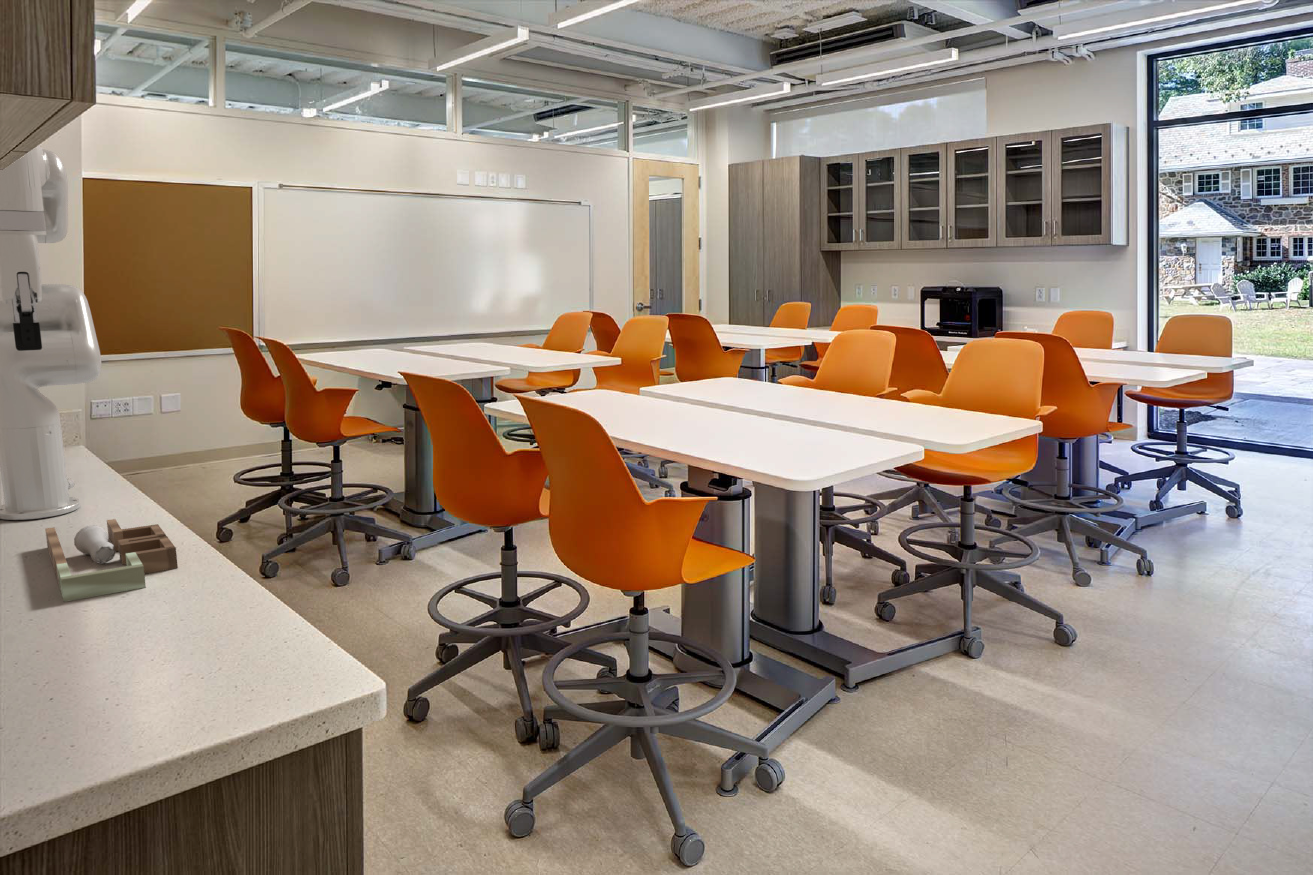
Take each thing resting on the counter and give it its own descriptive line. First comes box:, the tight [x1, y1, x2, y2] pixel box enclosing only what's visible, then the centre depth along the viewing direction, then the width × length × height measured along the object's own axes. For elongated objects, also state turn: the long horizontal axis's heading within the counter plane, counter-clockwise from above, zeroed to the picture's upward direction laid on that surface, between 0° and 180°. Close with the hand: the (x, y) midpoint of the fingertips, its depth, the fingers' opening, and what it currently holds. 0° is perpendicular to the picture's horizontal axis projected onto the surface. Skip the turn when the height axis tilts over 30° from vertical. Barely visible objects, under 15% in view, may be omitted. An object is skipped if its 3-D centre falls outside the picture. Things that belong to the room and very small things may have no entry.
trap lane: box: [44, 518, 179, 602], centre depth 135 cm, size 29×14×3 cm, turn 37°
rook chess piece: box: [73, 525, 117, 564], centre depth 137 cm, size 4×4×8 cm
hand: (29, 349), depth 139 cm, fingers closed
